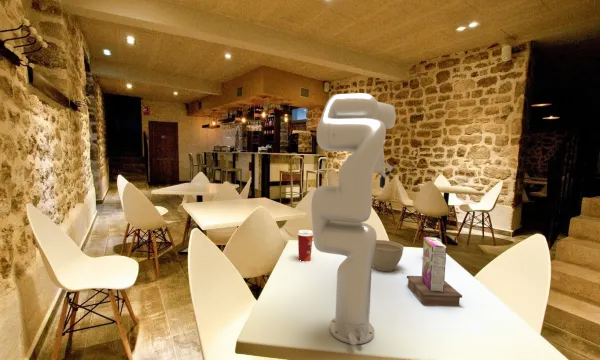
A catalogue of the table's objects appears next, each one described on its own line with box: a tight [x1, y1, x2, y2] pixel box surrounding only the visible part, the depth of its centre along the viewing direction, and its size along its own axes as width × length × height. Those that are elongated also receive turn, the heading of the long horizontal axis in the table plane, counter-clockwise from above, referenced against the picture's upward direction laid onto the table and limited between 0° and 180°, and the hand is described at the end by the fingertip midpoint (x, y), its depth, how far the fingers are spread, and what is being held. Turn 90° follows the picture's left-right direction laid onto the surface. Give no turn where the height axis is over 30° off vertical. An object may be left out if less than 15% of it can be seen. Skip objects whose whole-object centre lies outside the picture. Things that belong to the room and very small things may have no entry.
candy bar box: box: [421, 236, 448, 292], centre depth 107 cm, size 11×5×16 cm, turn 172°
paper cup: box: [297, 229, 313, 262], centre depth 142 cm, size 8×8×14 cm
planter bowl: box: [372, 239, 404, 272], centre depth 134 cm, size 16×16×11 cm
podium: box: [406, 275, 463, 307], centre depth 108 cm, size 16×13×4 cm
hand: (369, 187), depth 116 cm, fingers open, 9 cm apart
